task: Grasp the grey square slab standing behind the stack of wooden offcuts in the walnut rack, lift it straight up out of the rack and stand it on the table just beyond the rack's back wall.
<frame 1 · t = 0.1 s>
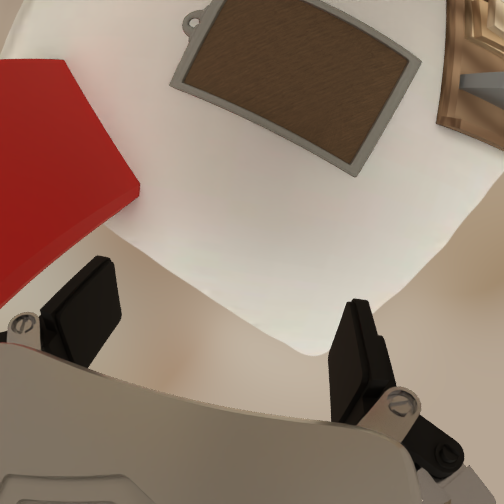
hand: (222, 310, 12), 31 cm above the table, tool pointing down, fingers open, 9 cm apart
offcut bottom: (489, 31, 24), point 1 cm above the table, touching offcut middle, rack
grey square slab: (485, 94, 29), point 1 cm above the table, touching rack
rack: (483, 66, 28), on the table
book: (84, 135, 41), on the table
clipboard: (287, 59, 34), on the table
offcut middle: (495, 29, 22), point 3 cm above the table, touching offcut bottom, offcut top
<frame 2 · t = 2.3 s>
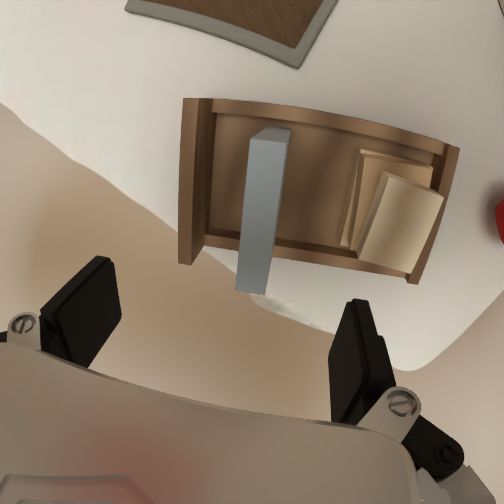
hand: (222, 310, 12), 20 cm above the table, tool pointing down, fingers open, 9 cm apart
offcut top: (395, 219, 24), point 6 cm above the table, touching offcut middle
offcut bottom: (381, 199, 27), point 1 cm above the table, touching offcut middle, rack
grey square slab: (273, 179, 28), point 1 cm above the table, touching rack
rack: (320, 184, 29), on the table
offcut middle: (385, 201, 25), point 3 cm above the table, touching offcut bottom, offcut top
strawberry: (497, 208, 26), on the table
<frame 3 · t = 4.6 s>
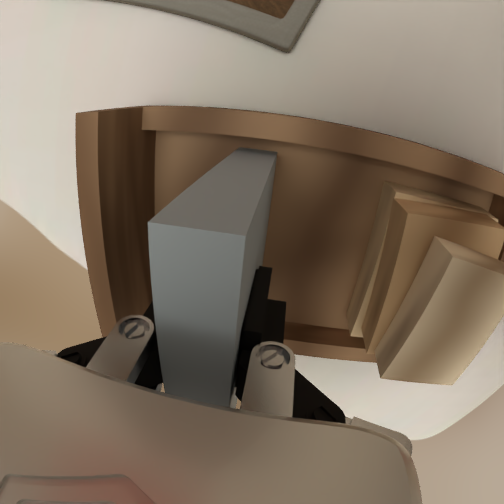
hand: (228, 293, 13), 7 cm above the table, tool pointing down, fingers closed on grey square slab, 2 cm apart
offcut top: (441, 308, 13), point 6 cm above the table, touching offcut middle
offcut bottom: (415, 262, 17), point 1 cm above the table, touching offcut middle, rack
grey square slab: (248, 235, 18), point 1 cm above the table, touching gripper
rack: (323, 238, 19), on the table
offcut middle: (425, 274, 15), point 3 cm above the table, touching offcut bottom, offcut top
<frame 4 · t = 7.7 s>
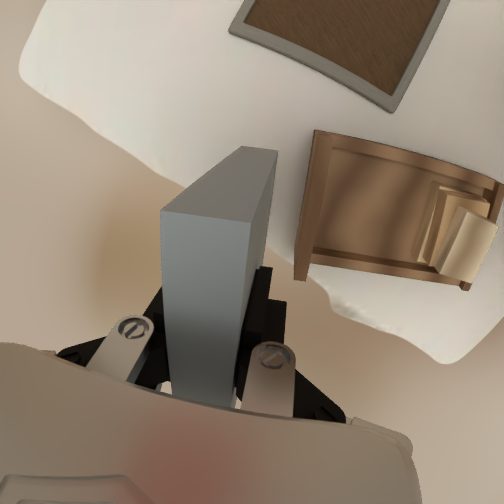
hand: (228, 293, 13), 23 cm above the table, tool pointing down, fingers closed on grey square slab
offcut top: (462, 241, 27), point 6 cm above the table, touching offcut middle
offcut bottom: (445, 223, 31), point 1 cm above the table, touching offcut middle, rack
grey square slab: (250, 231, 18), point 16 cm above the table, touching gripper
rack: (400, 210, 33), on the table
offcut middle: (452, 227, 29), point 3 cm above the table, touching offcut bottom, offcut top
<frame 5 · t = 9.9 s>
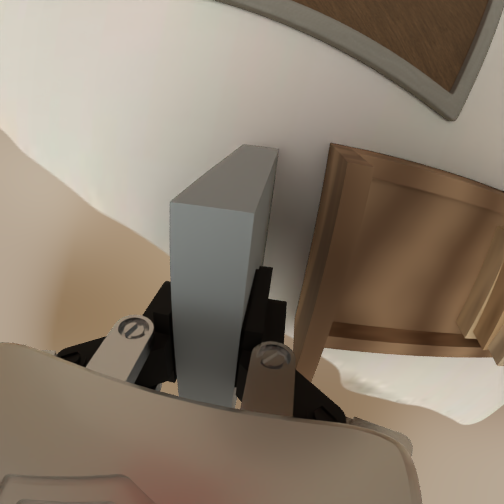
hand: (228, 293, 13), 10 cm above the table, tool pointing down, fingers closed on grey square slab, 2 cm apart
grey square slab: (251, 227, 19), point 3 cm above the table, touching gripper
rack: (449, 265, 21), on the table
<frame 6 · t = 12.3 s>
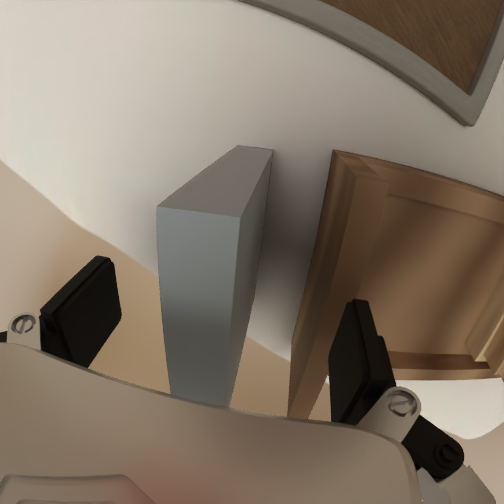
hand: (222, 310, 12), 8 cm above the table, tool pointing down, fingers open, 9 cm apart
grey square slab: (246, 228, 19), on the table
rack: (460, 283, 18), on the table
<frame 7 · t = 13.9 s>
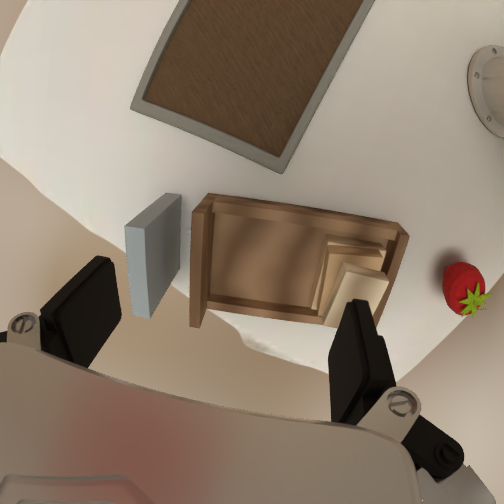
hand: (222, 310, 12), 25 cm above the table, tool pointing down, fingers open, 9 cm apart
offcut top: (352, 294, 33), point 6 cm above the table, touching offcut middle
offcut bottom: (345, 272, 37), point 1 cm above the table, touching offcut middle, rack
grey square slab: (172, 232, 38), on the table
rack: (297, 260, 38), on the table
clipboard: (262, 23, 27), on the table
offcut middle: (346, 278, 35), point 3 cm above the table, touching offcut bottom, offcut top
strawberry: (447, 268, 37), on the table
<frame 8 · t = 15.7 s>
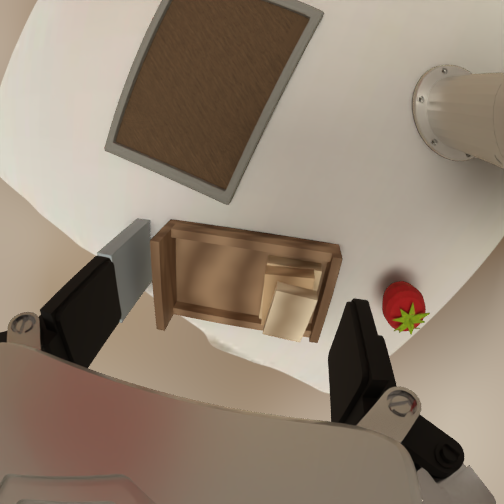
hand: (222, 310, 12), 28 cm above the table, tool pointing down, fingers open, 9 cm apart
offcut top: (289, 308, 39), point 6 cm above the table, touching offcut middle
offcut bottom: (289, 287, 43), point 1 cm above the table, touching offcut middle, rack
grey square slab: (145, 250, 45), on the table
rack: (247, 276, 44), on the table
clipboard: (209, 68, 33), on the table
offcut middle: (287, 293, 41), point 3 cm above the table, touching offcut bottom, offcut top
strawberry: (394, 285, 42), on the table
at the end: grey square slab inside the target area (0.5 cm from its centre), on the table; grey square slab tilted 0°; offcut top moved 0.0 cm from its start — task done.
